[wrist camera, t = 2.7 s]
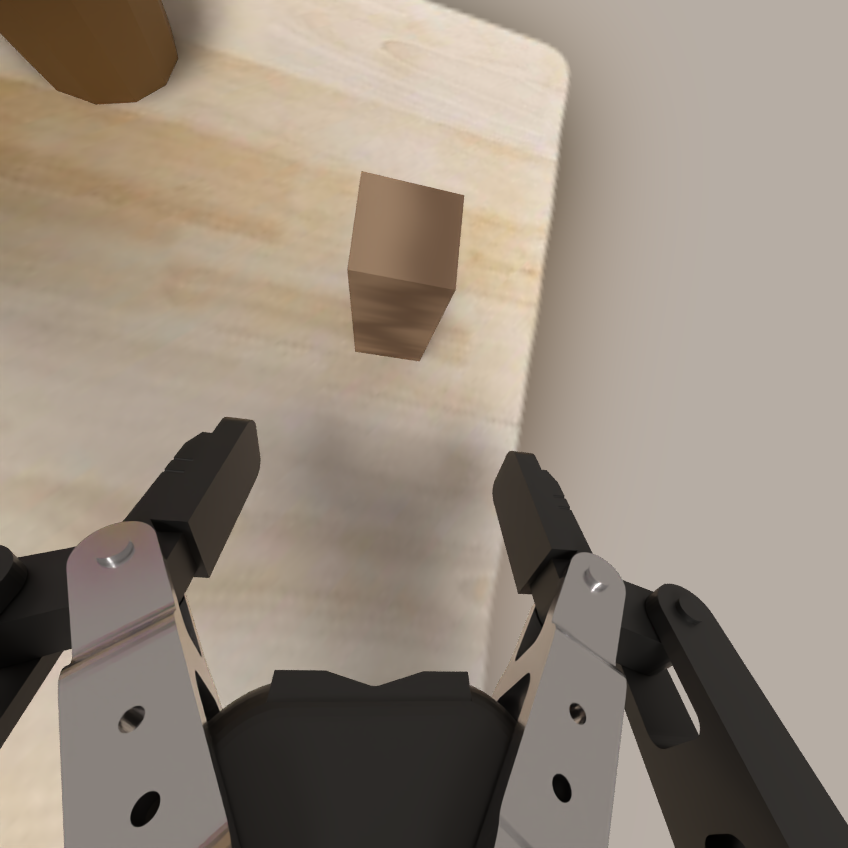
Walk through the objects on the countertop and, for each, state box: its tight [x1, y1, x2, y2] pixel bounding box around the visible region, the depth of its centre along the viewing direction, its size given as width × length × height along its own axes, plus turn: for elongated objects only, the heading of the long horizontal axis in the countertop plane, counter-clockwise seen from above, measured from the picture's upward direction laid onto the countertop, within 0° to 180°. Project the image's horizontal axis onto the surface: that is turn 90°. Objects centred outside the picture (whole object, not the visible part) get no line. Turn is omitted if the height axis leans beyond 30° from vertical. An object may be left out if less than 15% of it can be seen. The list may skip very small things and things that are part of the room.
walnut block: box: [347, 171, 464, 361], centre depth 21 cm, size 5×5×11 cm
